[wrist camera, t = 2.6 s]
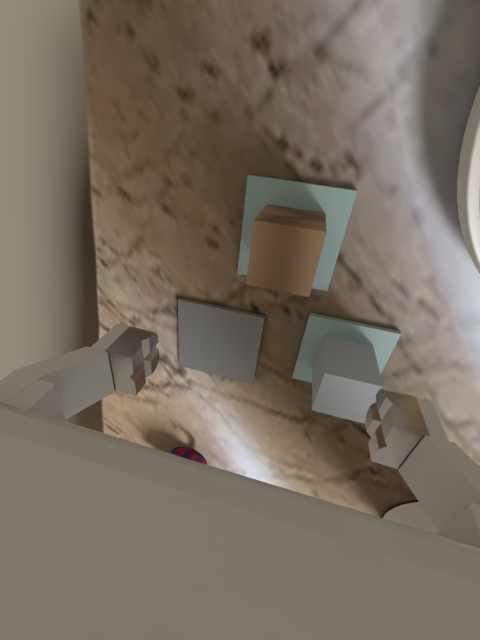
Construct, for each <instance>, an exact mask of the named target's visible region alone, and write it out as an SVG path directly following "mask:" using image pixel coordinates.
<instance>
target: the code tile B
mask: <svg viewBox="0 0 480 640" xmlns="http://www.w3.org/2000/svg"><path fill="white" fill-rule="evenodd" d="M324 335H326V336H331V337H335V338H340V339H344V340H349V341H354V342H358V343H363V344H368V345H372V346H373V347H374V351H375V355H376V359H377V363H378V367H379V371H380V375H381V373H382V371H383V369H384V367H385V365H386V363H387V361H388V359H389V357H390V355H391V353H392V351H393V349H394V347H395V345H396V343H397V342H398V340H399V338H400V336H401V332H400V331H398V330H393V329H388V328H383V327H379V326H374V325H369V324H364V323H359V322H354V321H350V320H345V319H340V318H335V317H330V316H325V315H320V314H316V313H311V312H310V313H309V317H308V321H307V324H306V328H305V332H304V335H303V339H302V342H301V346H300V350H299V353H298V357H297V360H296V364H295V368H294V371H293V375H292V378H294V379H298V380H302V381H306V382H310V383H312V379H313V368H314V365H315V362H316V359H317V356H318V352H319V349H320V346H321V343H322V340H323V337H324Z"/></svg>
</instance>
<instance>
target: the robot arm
mask: <svg viewBox="0 0 480 640" xmlns="http://www.w3.org/2000/svg"><path fill="white" fill-rule="evenodd" d="M157 343H158V335H157V334H156V333H154V332H151V331H147V330H143V329H139V328H136V327H131V326H127V325H124V324H117V325H115V326H114V327H113V328H112V329H111V330H110V331H109V332H107V333H106V334H105V335H104V336H103V337H102V338H101V339H100V340H98V341H97V342H96V343H95V344H94V345H93V346H92V347H91V348H90V347H84V348H81V349H78V350H75V351H72V352H69V353H66V354H63V355H60V356H57V357H54V358H50V359H48V360H44V361H41V362H38V363H35V364H32V365H29V366H26V367H23V368H20V369H17V370H14V371H12V372H11V373H10V374H8V375H7V376H6V377H4V378H3V379H2V380H1V381H0V640H480V466H478V465H477V464H476V463H475V462H474V461H473V460H472V459H471V458H470V457H469V456H468V455H467V454H466V453H465V452H464V451H463V450H461V449H460V448H459V447H458V446H457V445H456V444H455V443H453V442H450V441H449V440H448V438H447V435H446V433H445V431H444V428H443V426H442V424H441V421H440V419H439V417H438V414H437V412H436V410H435V407H434V405H433V403H432V401H431V400H430V399H427V398H422V397H418V396H412V395H408V394H404V393H399V392H395V391H391V390H387V389H383V388H381V389H380V390H379V391H378V392H377V394H376V401H377V402H375V403H373V404H371V405H370V407H369V409H368V411H367V415H366V432H367V433H368V434H369V435H370V437H371V439H370V441H369V442H368V445H369V451H370V457H371V461H372V462H376V463H379V464H382V465H385V466H389V467H392V468H395V469H398V472H399V473H400V475H401V476H402V478H403V479H404V480H405V482H406V483H407V485H408V486H409V488H410V489H411V491H412V492H413V494H414V495H415V497H416V498H417V500H418V501H419V502H414V503H408V504H403V505H400V506H397V507H395V508H393V509H391V510H389V511H388V512H387V513H386V514H385V515H384V517H383V518H380V517H377V516H374V515H370V514H367V513H364V512H360V511H357V510H354V509H351V508H347V507H344V506H341V505H337V504H334V503H331V502H327V501H324V500H321V499H318V498H314V497H311V496H308V495H304V494H301V493H298V492H294V491H291V490H288V489H285V488H281V487H278V486H275V485H271V484H268V483H265V482H261V481H258V480H255V479H252V478H248V477H245V476H242V475H239V474H235V473H232V472H229V471H225V470H222V469H219V468H216V467H212V466H209V465H206V464H203V463H199V462H196V461H193V460H189V459H186V458H183V457H180V456H176V455H173V454H170V453H166V452H163V451H160V450H157V449H153V448H150V447H147V446H143V445H140V444H137V443H134V442H130V441H127V440H124V439H120V438H117V437H114V436H111V435H107V434H104V433H101V432H98V431H94V430H91V429H88V428H84V427H81V426H78V425H75V424H71V423H68V422H67V421H66V419H67V418H69V417H71V416H72V415H74V414H76V413H78V412H79V411H81V410H83V409H85V408H86V407H88V406H90V405H92V404H94V403H95V402H97V401H99V400H101V399H102V398H104V397H106V396H108V395H109V394H111V393H113V392H115V390H116V391H120V392H124V393H129V394H133V395H137V394H138V393H139V391H140V390H141V389H142V387H143V386H144V384H145V383H146V379H145V377H147V376H149V375H151V374H152V373H153V372H154V370H155V369H156V367H157V364H158V361H159V350H158V349H157V348H156V344H157Z"/></svg>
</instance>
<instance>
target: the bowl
mask: <svg viewBox="0 0 480 640" xmlns="http://www.w3.org/2000/svg"><path fill="white" fill-rule="evenodd" d="M457 205H458V215H459V221H460V226H461V230H462V234H463V238H464V241H465V244H466V247H467V249H468V252H469V254H470V256H471V259H472V261H473V263H474V264H475V266H476V268H477V269H478V271H479V273H480V86H479V89H478V91H477V94H476V97H475V99H474V103H473V106H472V109H471V112H470V115H469V118H468V122H467V126H466V129H465V133H464V137H463V142H462V147H461V152H460V159H459V167H458V178H457Z"/></svg>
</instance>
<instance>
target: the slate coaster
mask: <svg viewBox="0 0 480 640" xmlns="http://www.w3.org/2000/svg"><path fill="white" fill-rule="evenodd" d="M264 321H265V315H261V314H257V313H252V312H247V311H242V310H238V309H233V308H228V307H224V306H219V305H214V304H209V303H205V302H200V301H195V300H191V299H186V298H181V297H180V298H179V299H178V332H179V366H183V367H187V368H191V369H195V370H199V371H204V372H208V373H212V374H216V375H220V376H224V377H228V378H232V379H236V380H240V381H244V382H248V383H252V384H253V382H254V377H255V372H256V366H257V360H258V355H259V349H260V344H261V338H262V332H263V327H264Z"/></svg>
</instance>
